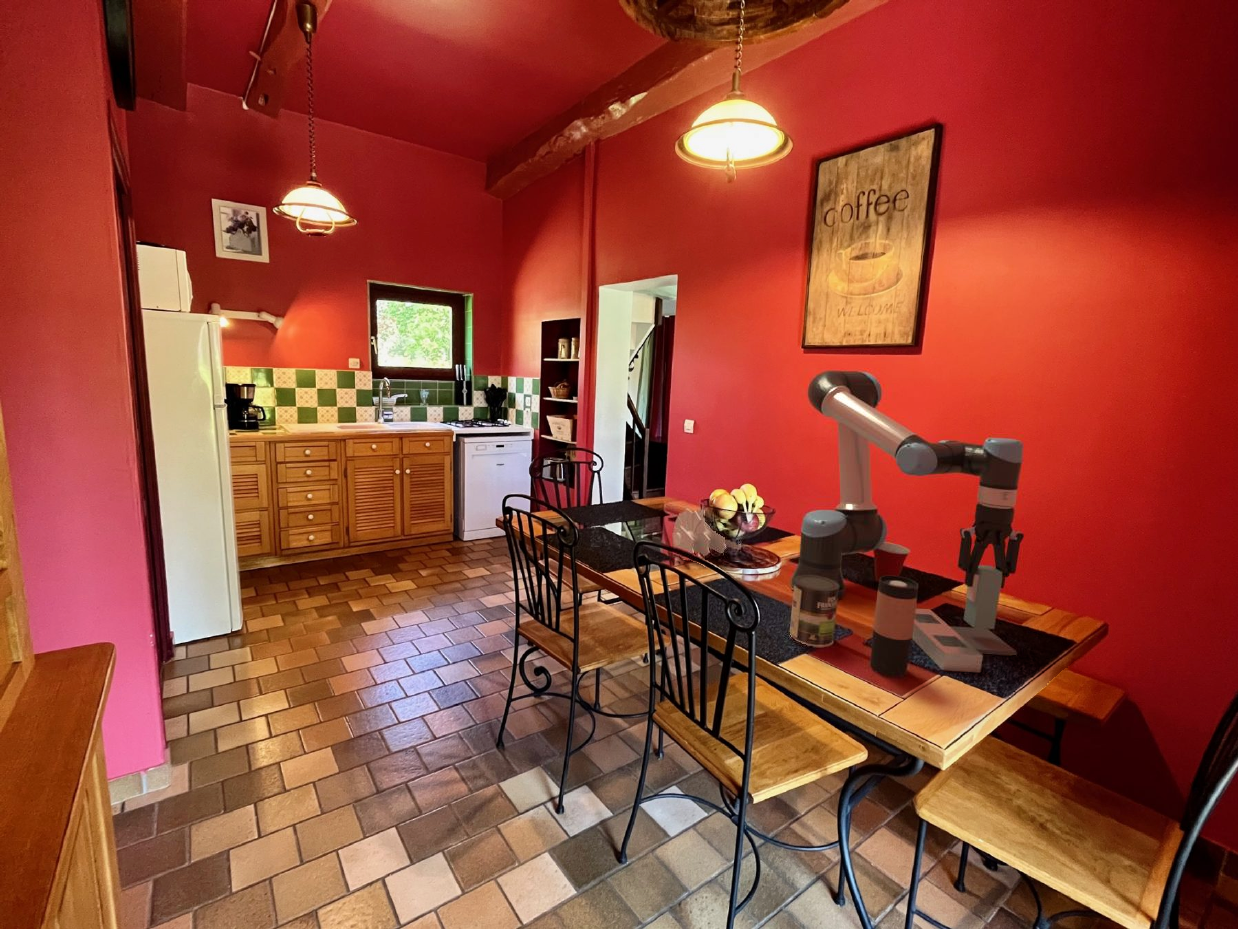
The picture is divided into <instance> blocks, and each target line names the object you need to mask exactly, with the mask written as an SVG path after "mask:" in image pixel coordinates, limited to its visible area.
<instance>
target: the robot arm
mask: <svg viewBox="0 0 1238 929" xmlns="http://www.w3.org/2000/svg"><path fill="white" fill-rule="evenodd" d="M807 387H808V388H807V398H808V401H809V403H810V405H811V406H812V407H813V408H814V409H815V410H816V411H817V412H819V413H820V414H821V415H823V416H825V417H827V418H831V419H833V420H834V421H835V422H836V423H837V437H838V438H837V440H838V441H837V442H838V443H837V444H838V463H839V464H838V466H839V488H840V491H839V492H840V493H839V494H840V502H839V503H838V504H837V506H835V510H833V509H832V510H831V509H818V510H812V511H810V512H808V513H806V514H805V515H804V516H803V518H802V524H801V527H800V530H801V531H800V543H799V557H798V564H797V566H796V567H795V570H794V571H793V572H794V573H793V574H792V577H791V579H790V585H791V587H792V588H793V589H794V578H795V577H797V576H801V575H815V576H821V577H825V578H829V579H831V580H833V581H835V582H837V583H838V584H839V586H840V588H839V592H838V600H841V599H843V598H844V597H845V595H846V584H845V581H844V577H843V572H842V559H843V556H844V555H851V554H858V553H862V554H863V553H865V554H866V553H869V552H871V551H874V550H875V549H877V548H879V547H880V546H881V545H882V544H883V543H884V542H886V539H887V535H888V526H887V522H886V520H885V519H883V518H884V517H883V515H881V514H879V513H878V512H879V511H878V506H877V505H875V503H873V499H872V498H873V496H872V475H871V471H872V470H871V453H870V443H871V444H873V445H875V446H876V447H877V448H879V449H881V450H882V451H883V452H885V453H886V454H888V455H889V456H891V457H892V458H893V459H895V461H896V462H895V463H896V465H897V466H898V468H899V470H900V472H902V473H903V474H906V475H908V476H916V477H922V476H923V477H924V476H931V475H945V474H946V475H947V474H962V475H963V474H965V475H969V476H975V477H979V484H978V489H977V490H978V491H977V497H976V498H977V499H976V501H977V502H978V503H977V504H976V505H975V511H974V523H973V525H972V526H971V527H968V528H963V527H961V528H960V529H959V533H960V547H959V555H958V563H957V567H958V569H960V570H961V571H963V572H964V573H965V575H964V585H965V586H966V594H965V597H966V599H967V598H968V599H969V600H971V601H975V599H976V592H977V585H978V578H979V575H977V574H976V571H977V569H978V566H979V565H980V564H981V561H982V558H983V556H984V554H985V551H986V549H987V548H988V547H989V545H992V546H993V555H994V557H993V558H994V564H995V565H994V567H995V569H997V570H999V571H1001V572H1002V579H1001V586H1000V590H1001V589H1004V587H1005V583H1006V581H1005V580H1006V578H1008V577H1009V576H1010V574H1011V575H1014V574H1015V573H1016V571H1017V565H1018V558H1019V554H1020V546H1021V543H1022V541H1023V539H1024V536H1025V534H1024V533H1021V532H1019V531H1017V530H1013V528H1012V524H1013V522H1014V519H1015V518H1014V517H1015V508H1014V506H1016V501H1017V494H1018V488H1019V480H1020V475H1021V468H1022V463H1023V461H1024V457H1023V456H1024V455H1023V454H1024V444H1023V442H1022V441H1021V440H1019V439H1018V440H1017V439H1014V438H1003V437H1002V438H1001V437H988V438H986V439H985V441H984V443H983V444H975V443H970V442H962V441H958V440H945V439H944V440H943V439H942V440H940V441H938V442H929V441H928V440H926V439H924V438H922V437H921V436H919V435H918V434H916V432H914V431H911V430H910V429H908V428H907V427H905V426H904V425H902V424H900V423H898V422H897V421H895V420H894V419H892V418H890V417H889V416H887V415H886V414H884V413H882V412H881V411H879V410H877V409H876V408H877V407H878V406H879V403H880V402H881V400H882V397H883V396H882V395H883V391H882V386H881V383H880V381H879V380H878V378H876V377H875V376H874V375H873V374H871V373H869V372H865V371H864V372H863V371H859V370H857V371H856V370H854V371H853V370H824V371H823V372H820V373H818V374H817V375H815V376H814V377H813V378H812V379H811V381H810V382H809V384H808V386H807ZM974 535H975V539H974V542H973V539H972V538H974ZM1006 539H1008V540H1007V541H1008V542H1007V545H1006ZM973 543H974V545H973V548H972V544H973ZM1006 546H1007V547H1006ZM1005 549H1006V550H1005ZM791 587H790V588H791ZM1000 594H1001V591H1000V592H999V596H1001V595H1000ZM842 597H843V598H842ZM999 600H1000V598H999V599H998V603H999Z"/></svg>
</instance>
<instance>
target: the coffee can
mask: <svg viewBox="0 0 1238 929" xmlns="http://www.w3.org/2000/svg"><path fill="white" fill-rule="evenodd" d="M839 588H840V586H839V584H838V583H837V582H835V581H833V580H831V579H829V578H825V577H821V576H815V575H801V576H797V577H795V578H794V591H793V590H792V591H793V593H792V601H791V602H792V605H791V616H790V625H789V626H790V627H789V632H790V635H791V637H793V638H794V639H795V640H796V641H798V642H801V643H802V644H806V645H807V646H806V645H805V646H806V647H810V646H813V647H812V648H821V649H822V648H828V647H830V646H832V645H833V644H834V641H835V640H834V638H835V637H834V636H835V628H836V620H837V618H836V617H837V607H838V601H839V599H838V592H839ZM790 635H789V636H790ZM791 637H790V638H791ZM796 641H795V642H796ZM798 642H797V643H798ZM802 644H801V645H802Z"/></svg>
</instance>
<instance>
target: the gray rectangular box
mask: <svg viewBox="0 0 1238 929" xmlns="http://www.w3.org/2000/svg"><path fill="white" fill-rule="evenodd" d="M976 574H977V575H979V578H978V585H977V592H976V599H975V601H971V600H969V599H968V598H967V597H966V600H965V608H964V614H963V621H965V623H967V624H968V625H970V626H971V628H985V629H988V630H995V626H996V618H997V613H998V612H997V611H998V604H999V602H998V599H999V600H1000V595H999V592H1000V593H1001V589H1000V586H1001V579H1002V572H1001V571H999V570H997V569H996V567H995V566H992V565H980V564H979V566H978V569H977V571H976Z"/></svg>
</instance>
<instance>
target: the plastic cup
mask: <svg viewBox="0 0 1238 929" xmlns="http://www.w3.org/2000/svg"><path fill="white" fill-rule="evenodd" d="M910 553H911V550H910V549H909V548H908V547H905V546H902V545H900V544H897V543H892V542H886V541H884V543H883V544H882V545H881V546H880V547H879V548H877V549H875V550H873V561H874V563H873V564H874V572H875V573H874V574H875V582H876V581H877V582H879V579H880V577H882V576H888V575H891V576H900V575H901V572H902V569H903V567H904V563H905V560H906V559H907V557H908V555H909V554H910ZM877 582H876V583H877Z"/></svg>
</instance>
